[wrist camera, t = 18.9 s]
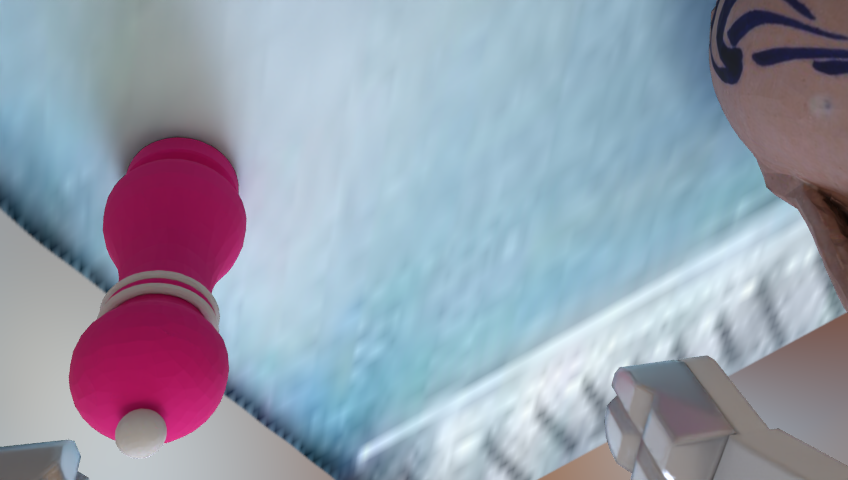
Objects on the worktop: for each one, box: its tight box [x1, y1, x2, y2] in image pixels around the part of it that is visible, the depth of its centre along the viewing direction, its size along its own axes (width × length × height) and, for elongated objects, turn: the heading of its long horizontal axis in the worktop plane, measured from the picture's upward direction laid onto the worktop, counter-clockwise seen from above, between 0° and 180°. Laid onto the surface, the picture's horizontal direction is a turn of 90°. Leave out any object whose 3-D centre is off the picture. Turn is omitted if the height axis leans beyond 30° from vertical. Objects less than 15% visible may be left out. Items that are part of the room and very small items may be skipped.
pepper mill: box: [69, 137, 246, 458], centre depth 33 cm, size 7×7×20 cm
